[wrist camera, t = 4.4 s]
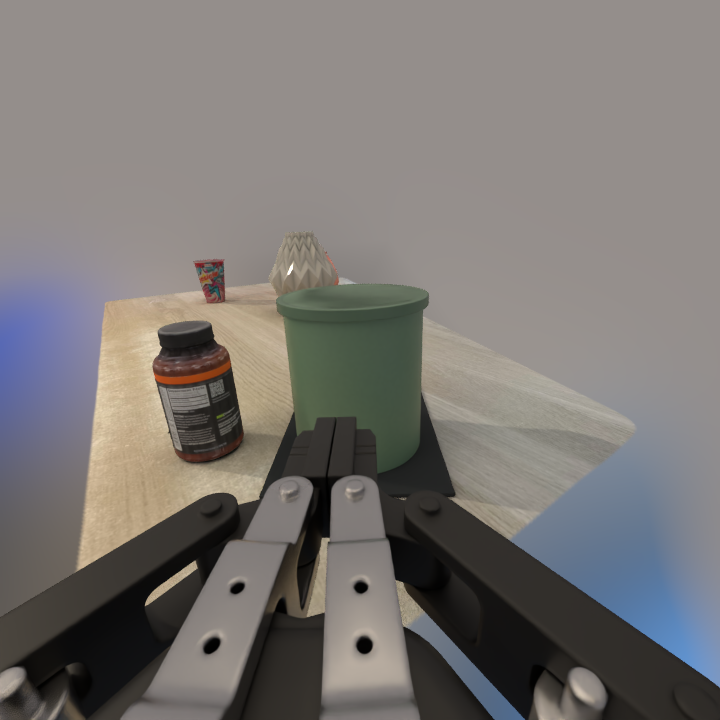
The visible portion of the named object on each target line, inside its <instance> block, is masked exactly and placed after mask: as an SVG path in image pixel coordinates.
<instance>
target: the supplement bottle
mask: <svg viewBox="0 0 720 720" xmlns="http://www.w3.org/2000/svg"><path fill="white" fill-rule="evenodd" d="M158 337H159V340H160V346H162V349H161V351H160V353H159V355H158V356H157V357H156V358H155V359H154V361H153V372H154V375H155V381H156V383H157V387H158V392H159V394H160V398H161V402H162V405H163V409H164V413H165V417H166V420H167V424H168V428H169V432H170V435H171V439H172V442H173V446H174V448H175V452H176V454H177V455H178V456H179V457H180V458H182V459H184V460H187V461H191V462H199V461H200V462H202V461H209V460H214V459H216V458H219V457H221V456H223V455H226V454H228V453H229V452H231V451H232V450H234V449H235V448H236V447H237V446H238V445H239V444H240V443H241V441H242V439H243V435H244V432H243V426H242V421H241V415H240V410H239V405H238V399H237V394H236V388H235V383H234V378H233V372H232V367H231V361H230V356H229V353H228V351H227V349H226V348H225V347H223V346H222V345H219V344H217V342H216V341H215V340H214V339H213V338H214V334H213V330H212V325H211V323H209V322H207V321H185V322H179V323H173V324H170V325H166V326H164V327H162V328H160V329H159V330H158ZM169 432H168V434H169Z"/></svg>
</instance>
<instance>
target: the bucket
mask: <svg viewBox="0 0 720 720" xmlns="http://www.w3.org/2000/svg"><path fill="white" fill-rule="evenodd" d="M428 300H429V294H428V292H427V291H425V290H423V289H420V288H416V287H411V286H404V285H392V284H347V285H333V286H323V287H315V288H308V289H302V290H297V291H293V292H290V293H286V294H284V295H282V296H280V297H278V298H277V299H276V304H277V311H278V312H279V314H281V315H283V317H284V326H285V334H286V343H287V352H288V361H289V369H290V378H291V387H292V396H293V404H294V413H295V422H296V431H297V436H298V435H299V434H300V433H301V432H302V431H303V430H314V427H315V423H316V420H317V417H336V418H337V417H356V419H357V429H370V430H371V431H372V432H373V434H374V435H375V436H376V454H377V474H378V473H382V472H386V471H389V470H391V469H394V468H396V467H398V466H400V465H402V464H404V463H405V462H407V461H408V460H409V459H410V458H411V457H412V456H413V455H414V454H415V453H416V451H417V449H418V447H419V443H420V414H421V372H422V330H423V309H425V308H426V307H427V306H428V303H429V301H428Z"/></svg>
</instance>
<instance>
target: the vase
mask: <svg viewBox="0 0 720 720" xmlns="http://www.w3.org/2000/svg"><path fill="white" fill-rule="evenodd" d="M337 276H338V275H337V273H336V271H335V269H334V267H333V265H332V264H331V263H330V261H329V260H328V259H327V256H326V254H325V251H324V248H323V247H322V246H321V245H320V244H319V242H318V240H317V238H316V237H315V236H314V233H313V231H311V232H296V233H295V232H291V233H290V232H287V233H285V238H284V239H283V243H282V246H281V247H280V249H279V252H278V255H277V259H276V262H275V265H274V267H273V269H272V271H271V274H270V276H269V281H270V282H271V284H272V286H273V287H274V289H275V291H276V293H277V295H278V297H280V296H282V295H284V294H286V293H290V292H293V291H297V290H302V289H308V288H315V287H323V286H333V285H334V283H335V281H336V278H337Z"/></svg>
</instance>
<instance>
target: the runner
mask: <svg viewBox="0 0 720 720" xmlns="http://www.w3.org/2000/svg"><path fill="white" fill-rule="evenodd" d="M296 437H297V431H296V422H295V413H293V415H292V418H291V420H290V423H289V425H288V428H287V430H286V432H285V435H284V437H283V440H282V442H281V445H280V447H279V450H278V452H277V454H276V457H275V459H274V462H273V464H272V467H271V469H270V472H269V474H268V476H267V479H266V481H265V484H264V486H263V489H262V491H261V494H260V496H259V497H260V499H261V498H263V497H264V495H265V493H266V491H267V489H268V488H269V487H270V485H272V484H273V483H274V482H276V481H277V480H279V479H281V477H282V475H283V472H284V469H285V466H286V463H287V460H288V458H289V456H290V452H291V449H292V446H293V443H294V441H295V438H296ZM377 477H378V484H379V487H380V488H381V490H382V491H383V492H385V493H386V494H387V495H389V496H391V497H408V496H410V495H411V494H413V493H415V492H418V491H434V492H438V493H440V494H443V495H444V496H455V492H454V489H453V486H452V483H451V480H450V477H449V474H448V471H447V468H446V465H445V462H444V459H443V456H442V453H441V450H440V447H439V444H438V441H437V438H436V435H435V432H434V429H433V426H432V423H431V420H430V417H429V414H428V411H427V408H426V405H425V402H424V399H423V396H422V393H421V414H420V443H419V447H418V449H417V451H416V453H415V454H414V455H413V456H412V457H411V458H410V459H409V460H408V461H407V462H405V463H404V464H402V465H400V466H398V467H396V468H394V469H391V470H389V471H386V472H382V473H378V474H377Z"/></svg>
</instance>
